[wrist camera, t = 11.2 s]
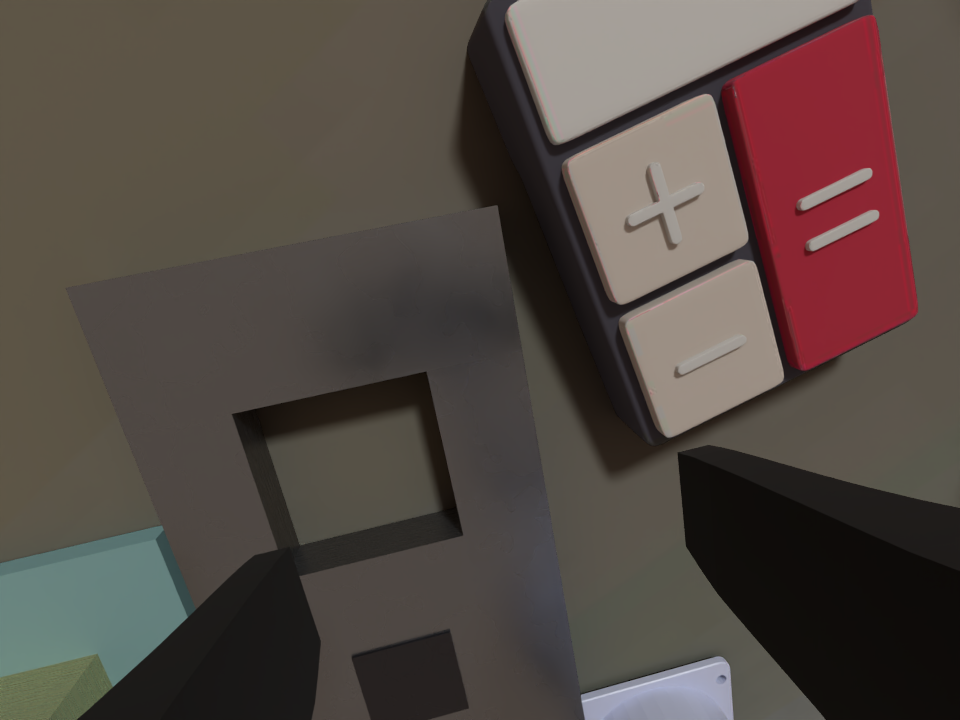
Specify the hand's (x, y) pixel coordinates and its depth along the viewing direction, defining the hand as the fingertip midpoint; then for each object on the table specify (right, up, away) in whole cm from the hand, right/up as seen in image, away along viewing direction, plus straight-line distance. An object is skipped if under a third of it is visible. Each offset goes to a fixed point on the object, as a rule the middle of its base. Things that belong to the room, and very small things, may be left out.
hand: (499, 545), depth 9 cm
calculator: (+7, +10, +10) cm, 16 cm away
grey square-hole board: (-4, -3, +11) cm, 12 cm away
